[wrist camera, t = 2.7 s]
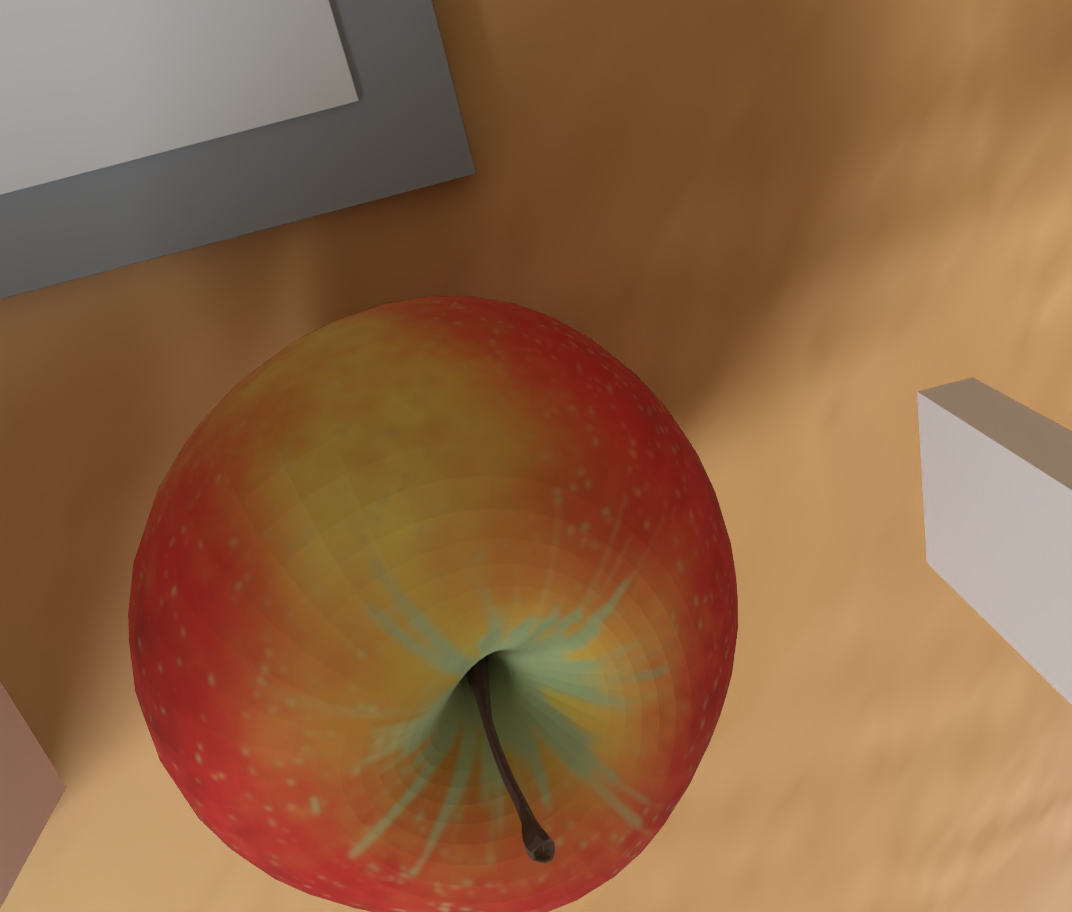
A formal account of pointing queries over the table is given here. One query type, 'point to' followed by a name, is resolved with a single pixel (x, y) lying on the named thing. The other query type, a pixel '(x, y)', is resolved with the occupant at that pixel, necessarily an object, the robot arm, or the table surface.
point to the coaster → (208, 123)
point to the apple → (435, 612)
